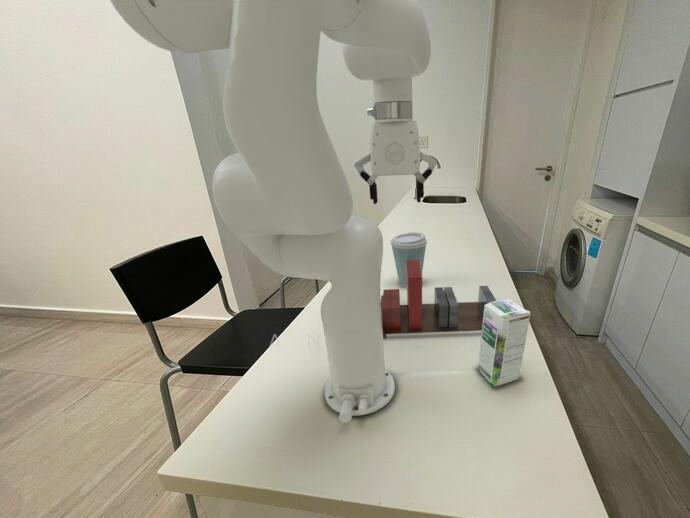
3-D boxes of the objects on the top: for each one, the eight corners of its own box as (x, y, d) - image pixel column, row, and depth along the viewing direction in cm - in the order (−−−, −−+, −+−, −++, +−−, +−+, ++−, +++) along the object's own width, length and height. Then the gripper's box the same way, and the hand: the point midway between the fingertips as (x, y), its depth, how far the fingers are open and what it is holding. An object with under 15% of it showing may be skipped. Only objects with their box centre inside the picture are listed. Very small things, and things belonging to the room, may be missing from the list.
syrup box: (476, 369, 64) (482, 303, 58) (501, 361, 66) (510, 297, 60) (494, 388, 60) (503, 318, 53) (520, 379, 62) (532, 310, 55)
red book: (422, 328, 76) (422, 277, 70) (409, 329, 76) (408, 277, 70) (418, 306, 86) (418, 259, 80) (407, 307, 86) (406, 259, 80)
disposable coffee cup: (400, 293, 96) (399, 243, 89) (387, 280, 105) (384, 233, 98) (433, 286, 100) (433, 237, 93) (416, 274, 108) (416, 229, 102)
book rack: (502, 333, 75) (505, 307, 72) (380, 338, 75) (378, 312, 72) (487, 304, 88) (489, 282, 85) (382, 308, 88) (380, 286, 85)
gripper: (347, 115, 63) (356, 207, 70) (439, 111, 62) (437, 204, 70) (352, 116, 69) (360, 200, 77) (435, 112, 69) (434, 197, 77)
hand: (397, 201), depth 74 cm, fingers open, 9 cm apart
